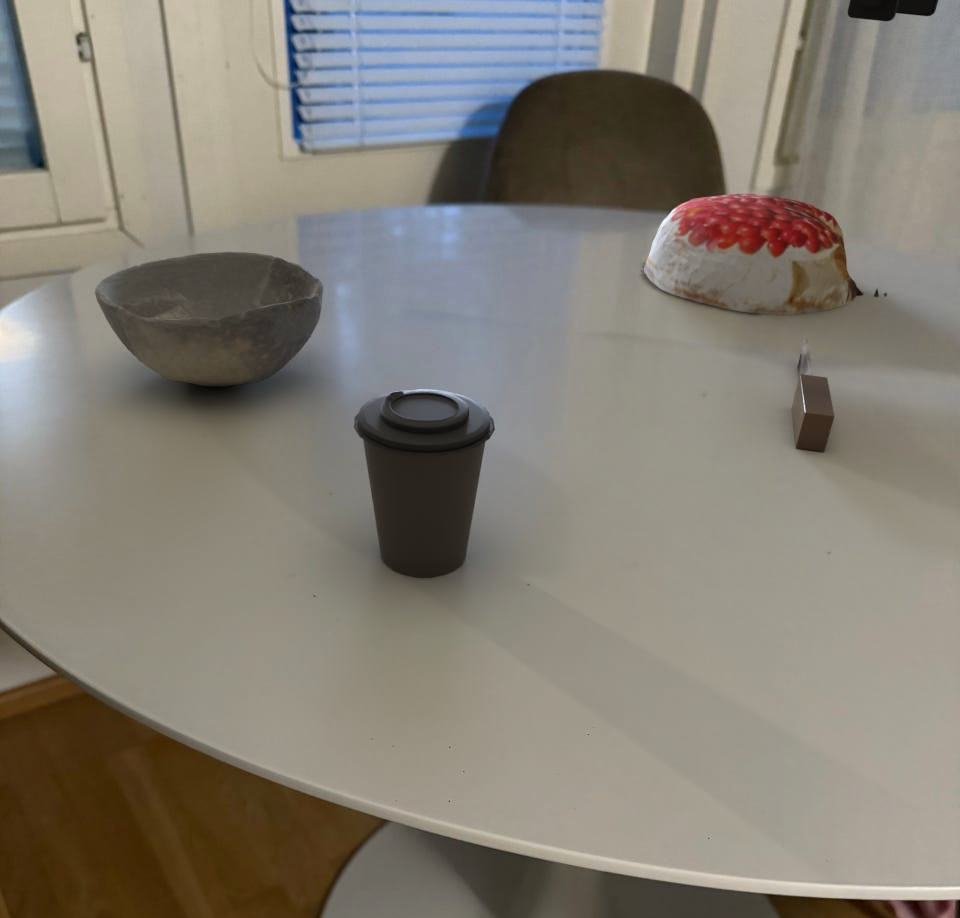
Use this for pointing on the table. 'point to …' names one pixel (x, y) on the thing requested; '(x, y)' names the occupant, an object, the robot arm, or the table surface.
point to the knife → (811, 406)
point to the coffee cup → (423, 475)
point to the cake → (752, 255)
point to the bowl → (213, 315)
